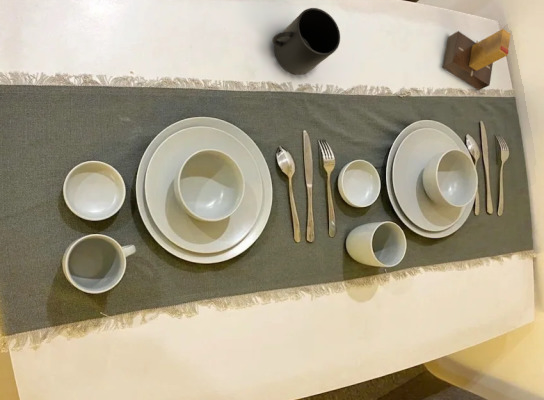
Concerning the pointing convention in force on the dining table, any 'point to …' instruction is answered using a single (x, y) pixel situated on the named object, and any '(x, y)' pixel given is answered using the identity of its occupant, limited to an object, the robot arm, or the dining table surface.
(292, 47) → the mug
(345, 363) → the dining table surface
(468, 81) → the plate
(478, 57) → the lock knob
